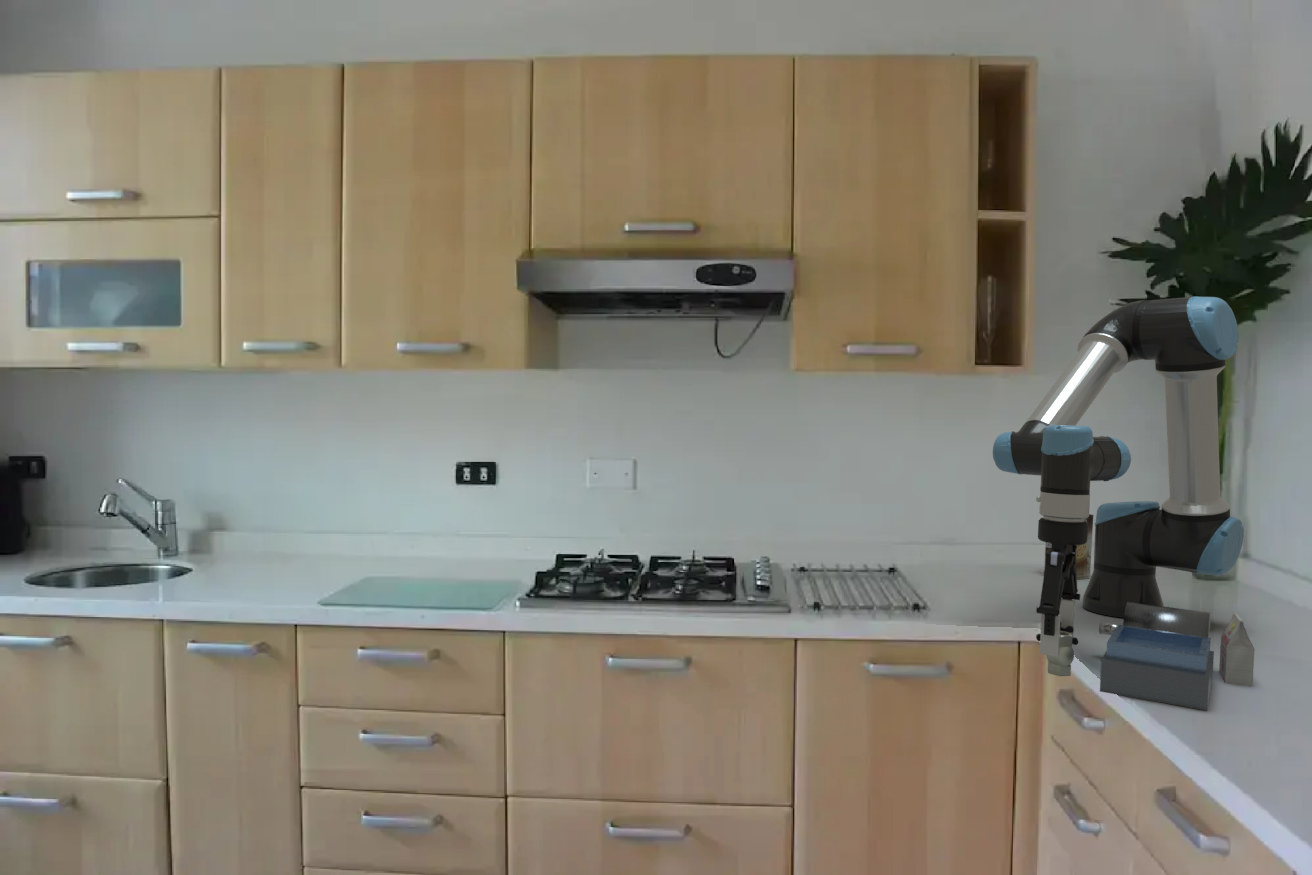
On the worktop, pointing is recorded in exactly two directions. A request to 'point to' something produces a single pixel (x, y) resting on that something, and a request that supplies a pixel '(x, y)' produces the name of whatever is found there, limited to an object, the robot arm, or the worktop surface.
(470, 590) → the worktop surface
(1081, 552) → the coffee box
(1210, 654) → the motor
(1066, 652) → the valve
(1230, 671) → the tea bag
